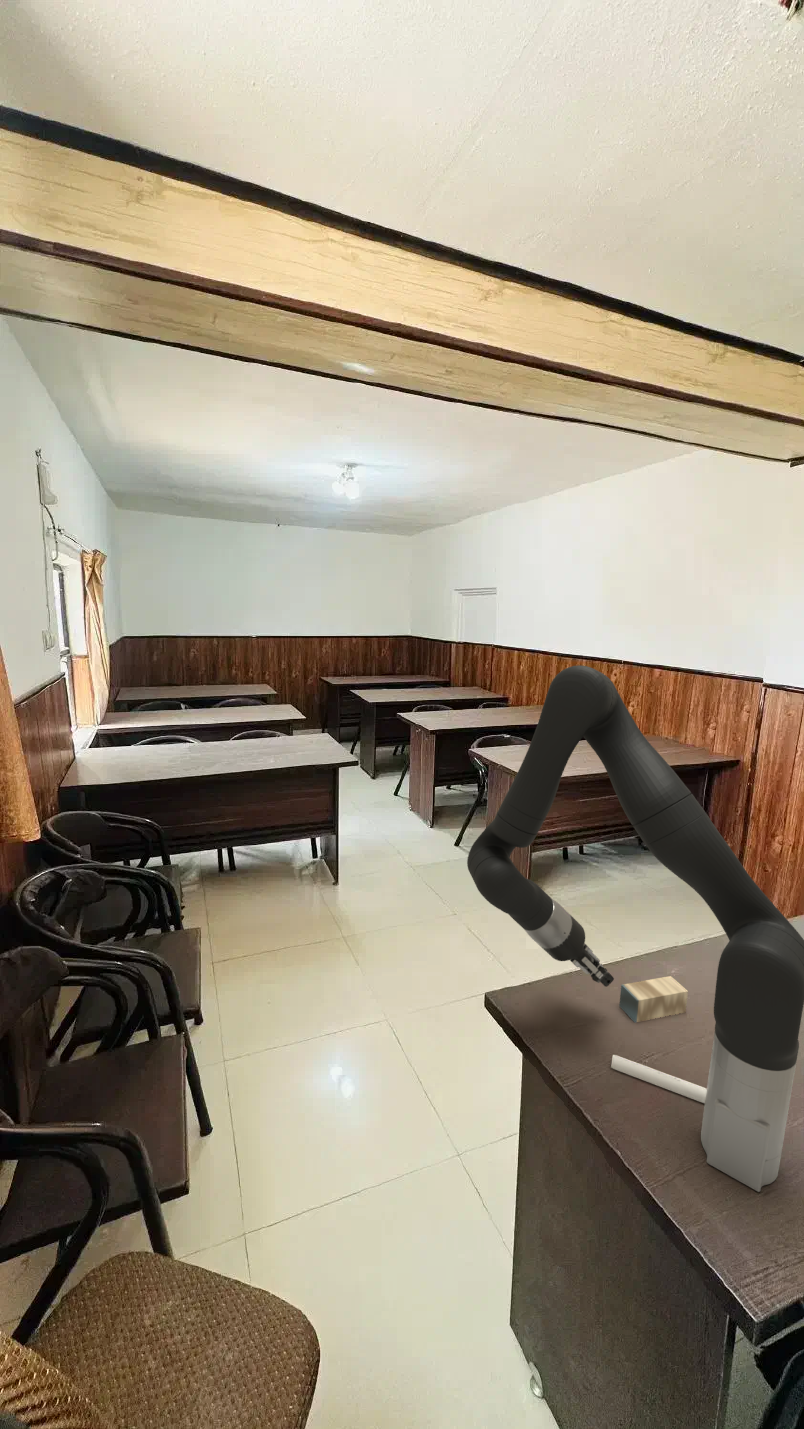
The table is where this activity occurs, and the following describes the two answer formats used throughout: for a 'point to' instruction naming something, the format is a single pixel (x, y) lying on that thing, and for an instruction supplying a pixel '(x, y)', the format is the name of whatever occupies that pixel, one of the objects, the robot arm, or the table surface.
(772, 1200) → the table surface
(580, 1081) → the table surface
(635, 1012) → the beech block
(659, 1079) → the marker
